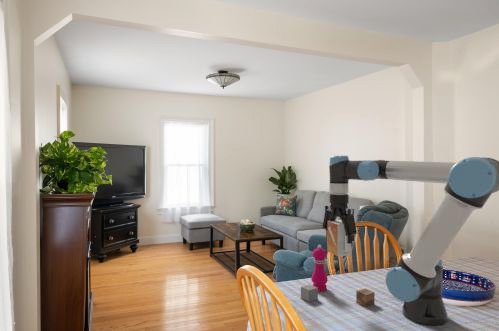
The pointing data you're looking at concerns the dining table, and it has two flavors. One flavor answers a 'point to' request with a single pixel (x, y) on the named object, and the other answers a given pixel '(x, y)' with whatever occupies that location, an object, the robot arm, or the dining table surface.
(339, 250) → the small box
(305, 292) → the charcoal block
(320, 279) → the pepper mill
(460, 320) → the dining table surface
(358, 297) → the walnut block
